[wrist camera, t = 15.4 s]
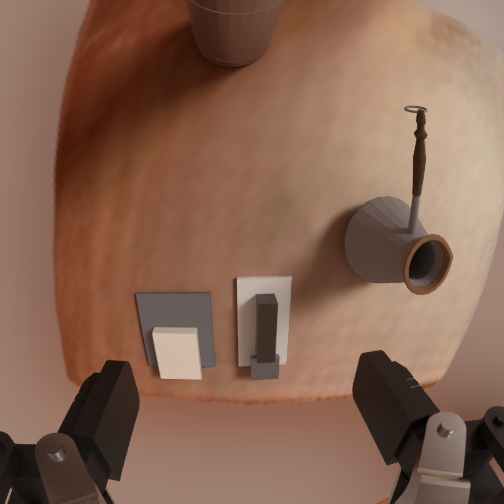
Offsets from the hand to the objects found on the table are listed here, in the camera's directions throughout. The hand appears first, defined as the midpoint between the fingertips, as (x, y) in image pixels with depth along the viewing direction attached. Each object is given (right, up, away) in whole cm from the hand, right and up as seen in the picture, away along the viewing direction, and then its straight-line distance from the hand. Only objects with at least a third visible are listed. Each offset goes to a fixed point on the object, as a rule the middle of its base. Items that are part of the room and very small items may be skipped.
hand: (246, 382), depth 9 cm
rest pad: (+2, -5, +31) cm, 32 cm away
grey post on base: (+2, -7, +31) cm, 32 cm away
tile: (-10, -6, +29) cm, 31 cm away
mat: (-10, -7, +30) cm, 33 cm away
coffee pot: (+16, +11, +28) cm, 34 cm away
